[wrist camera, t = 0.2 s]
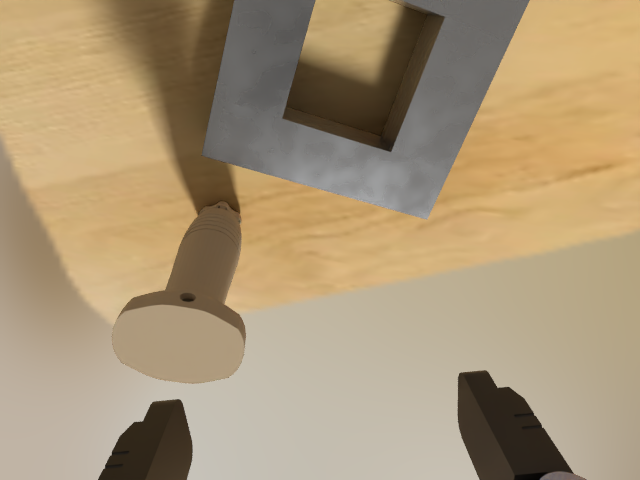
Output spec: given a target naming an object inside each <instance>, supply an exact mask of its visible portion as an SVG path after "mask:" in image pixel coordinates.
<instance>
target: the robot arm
mask: <svg viewBox="0 0 640 480" xmlns="http://www.w3.org/2000/svg"><path fill="white" fill-rule="evenodd" d="M458 423H459V429H460V433H461V436H462V439H463V441H464V444H465V446H466V449H467V451H468V453H469V456H470V458H471V460H472V463H473V465H474V468H475V470H476V472H477V475H478V477H479V479H480V480H586V479H585V478H582V477H580V476H578V475H575V474H574V473H573V472H572V470H571V469H570V467H569V466H568V464H567V463H566V461H565V460H564V458H563V457H562V455H561V454H560V452H559V451H558V449H557V447H556V446H555V444H554V443H553V441H552V440H551V438H550V437H549V435H548V434H547V432H546V431H545V429H544V428H542V425H541V423H540V422H539V420H538V419H537V417H536V416H534V413H533V411H532V410H531V408H530V407H529V405H528V404H527V402H526V401H525V399H524V398H523V397H521V396H520V395H518V394H517V393H516V392H515V391H513V390H512V389H511V388H509V387H504V388H497V386H496V384H495V383H494V381H493V379H492V378H491V376H490V374H489V373H488V372H487V371H485V370H484V371H474V372H463V373H460V374H459V377H458ZM191 462H192V440H191V435H190V431H189V427H188V423H187V419H186V415H185V411H184V407H183V403H182V402H181V400H179V399H177V400H167V401H156V402H153V403H152V404H151V405H150V407H149V410H148V412H147V414H146V416H145V418H144V421H142V422H134V423H133V424H132V425H131V426H130V427H129V428H128V429H127V430H126V431H125V432H124V433H123V434H122V435H121V436H120V437H119V439H118V441H117V443H116V445H115V447H114V449H113V451H112V456H110V457H109V459H108V461H107V463H106V465H105V469H103V471H102V473H101V475H100V477H99V479H98V480H187V476H188V473H189V469H190V466H191Z"/></svg>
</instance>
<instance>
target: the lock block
mask: <svg viewBox="0 0 640 480" xmlns="http://www.w3.org/2000/svg"><path fill="white" fill-rule="evenodd" d="M390 1H392V2H395V3H398V4H400V5H403V6H406V7H408V8H411V9H414V10H416V11H419V12H422V13H424V14H427V17H426V20H425V22H424V25H423V28H422V30H421V33H420V35H419V38H418V41H417V43H416V46H415V48H414V51H413V54H412V56H411V59H410V61H409V64H408V67H407V69H406V72H405V74H404V77H403V80H402V82H401V85H400V88H399V90H398V93H397V95H396V98H395V101H394V103H393V106H392V108H391V111H390V114H389V116H388V119H387V121H386V124H385V127H384V129H383V132H382V135H381V136H379V135H375V134H372V133H369V132H366V131H363V130H360V129H356V128H353V127H350V126H347V125H344V124H340V123H337V122H334V121H331V120H328V119H324V118H321V117H318V116H315V115H312V114H309V113H305V112H302V111H299V110H296V109H293V108H289V107H286V103H287V99H288V96H289V92H290V89H291V85H292V82H293V78H294V75H295V71H296V67H297V64H298V60H299V57H300V53H301V50H302V46H303V43H304V39H305V35H306V32H307V28H308V25H309V21H310V18H311V14H312V11H313V7H314V4H315V0H234V4H233V9H232V14H231V19H230V23H229V28H228V33H227V38H226V42H225V47H224V52H223V57H222V61H221V66H220V71H219V76H218V80H217V85H216V90H215V94H214V99H213V104H212V109H211V113H210V118H209V123H208V128H207V132H206V137H205V142H204V147H203V151H202V156H204V157H208V158H212V159H215V160H219V161H222V162H226V163H229V164H233V165H236V166H240V167H243V168H247V169H250V170H254V171H257V172H261V173H264V174H268V175H272V176H275V177H279V178H282V179H286V180H289V181H293V182H296V183H300V184H303V185H307V186H310V187H314V188H317V189H321V190H324V191H328V192H332V193H335V194H339V195H342V196H346V197H349V198H353V199H356V200H360V201H363V202H367V203H370V204H374V205H377V206H381V207H385V208H388V209H392V210H395V211H399V212H402V213H406V214H409V215H413V216H416V217H420V218H423V219H428V217H429V214H430V212H431V210H432V208H433V206H434V204H435V202H436V199H437V197H438V195H439V193H440V191H441V189H442V187H443V184H444V182H445V180H446V178H447V176H448V174H449V172H450V169H451V167H452V165H453V163H454V161H455V159H456V157H457V154H458V152H459V150H460V148H461V146H462V144H463V142H464V139H465V137H466V135H467V133H468V131H469V129H470V127H471V124H472V122H473V120H474V118H475V116H476V114H477V112H478V110H479V107H480V105H481V103H482V101H483V99H484V97H485V95H486V92H487V90H488V88H489V86H490V84H491V82H492V80H493V77H494V75H495V73H496V71H497V69H498V67H499V65H500V62H501V60H502V58H503V56H504V54H505V52H506V50H507V47H508V45H509V43H510V41H511V39H512V37H513V35H514V32H515V30H516V28H517V26H518V24H519V22H520V20H521V17H522V15H523V13H524V11H525V9H526V7H527V5H528V2H529V0H390Z"/></svg>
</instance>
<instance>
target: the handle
mask: <svg viewBox="0 0 640 480" xmlns="http://www.w3.org/2000/svg"><path fill="white" fill-rule="evenodd" d="M240 224H241V216H240V213H238V212H235V211H234V210H232V209H231V208H230V207H229V206H228V203H226V202H223V201H219V202H218V203H217V204H216V205H213V206H205V207H204V208H203V209H202V210H201V211H200V212H199V214H198V217H197V218H196V219H195V220H194V221H193V222H192V224H191V225H190V227H189V228H188V230H187V231H186V233H185V235H184V237H183V240H182V242H181V244H180V247H179V250H178V253H177V256H176V259H175V263H174V266H173V269H172V272H171V275H170V278H169V281H168V284H167V287H166V289H165V291H158V292H153V293H149V294H145V295H141V296H138V297H134V298H133V299H131V300H130V301H129V302H128V303H127V305H126V306H125V307H124V308H123V310H122V311H121V313H120V315H119V316H118V318H117V320H116V322H115V325H114V327H113V332H112V345H113V349H114V352H115V354H116V355H117V357H118V359H119V360H120V361H121V363H123V364H125V365H127V366H129V367H131V368H133V369H135V370H137V371H139V372H141V373H143V374H145V375H147V376H150V377H153V378H156V379H160V380H165V381H173V382H180V383H192V384H194V383H204V382H210V381H215V380H220V379H225V378H229V376H231V375H232V374H234V372H235V371H236V370H237V369H238V368H239V366H240V364H241V362H242V359H243V356H244V348H245V339H246V333H245V325H244V323H243V320H242V318H241V317H240V315H239V314H238V313H236V312H235V311H233V310H232V309H230V308H229V307H227V306H226V305H224V303H225V300H226V297H227V293H228V290H229V287H230V284H231V282H232V279H233V276H234V273H235V270H236V267H237V264H238V260H239V256H240V251H241V228H240Z"/></svg>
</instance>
